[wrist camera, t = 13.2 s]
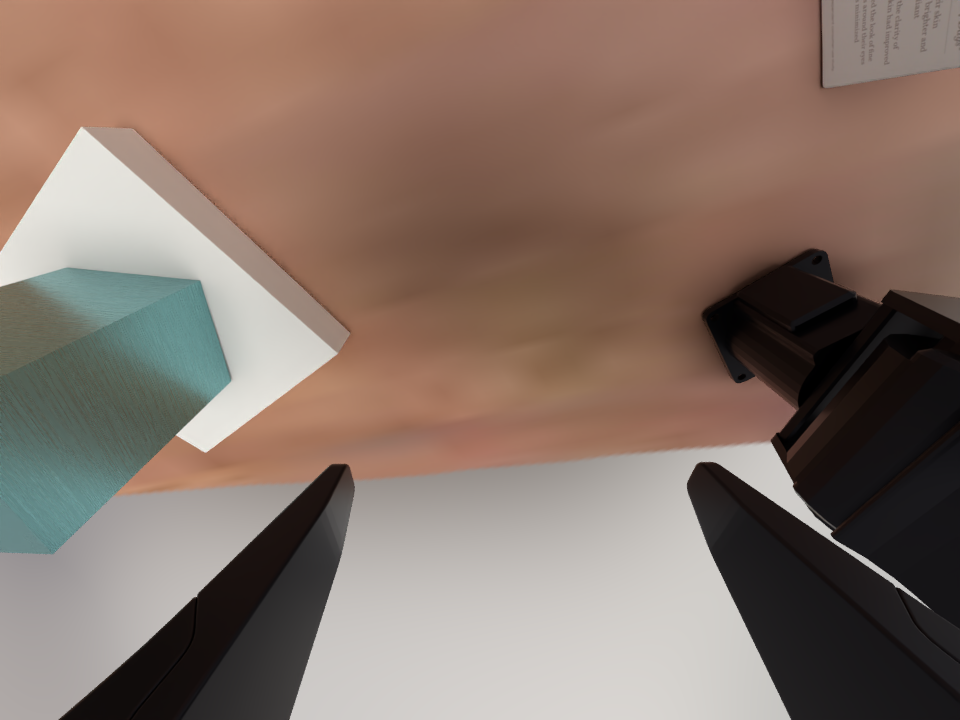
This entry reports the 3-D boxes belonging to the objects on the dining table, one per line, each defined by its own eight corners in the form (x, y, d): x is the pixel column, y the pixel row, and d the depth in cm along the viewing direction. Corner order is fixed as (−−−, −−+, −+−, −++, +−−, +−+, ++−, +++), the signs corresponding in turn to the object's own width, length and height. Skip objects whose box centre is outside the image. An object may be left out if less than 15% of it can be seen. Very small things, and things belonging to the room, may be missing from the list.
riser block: (353, 328, 22) (338, 353, 19) (231, 422, 26) (205, 452, 23) (142, 128, 16) (81, 126, 14) (27, 288, 20) (-37, 309, 17)
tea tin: (199, 280, 17) (-77, 414, 8) (231, 381, 20) (53, 553, 11) (66, 267, 16) (-372, 395, 8) (119, 372, 20) (-154, 546, 11)
